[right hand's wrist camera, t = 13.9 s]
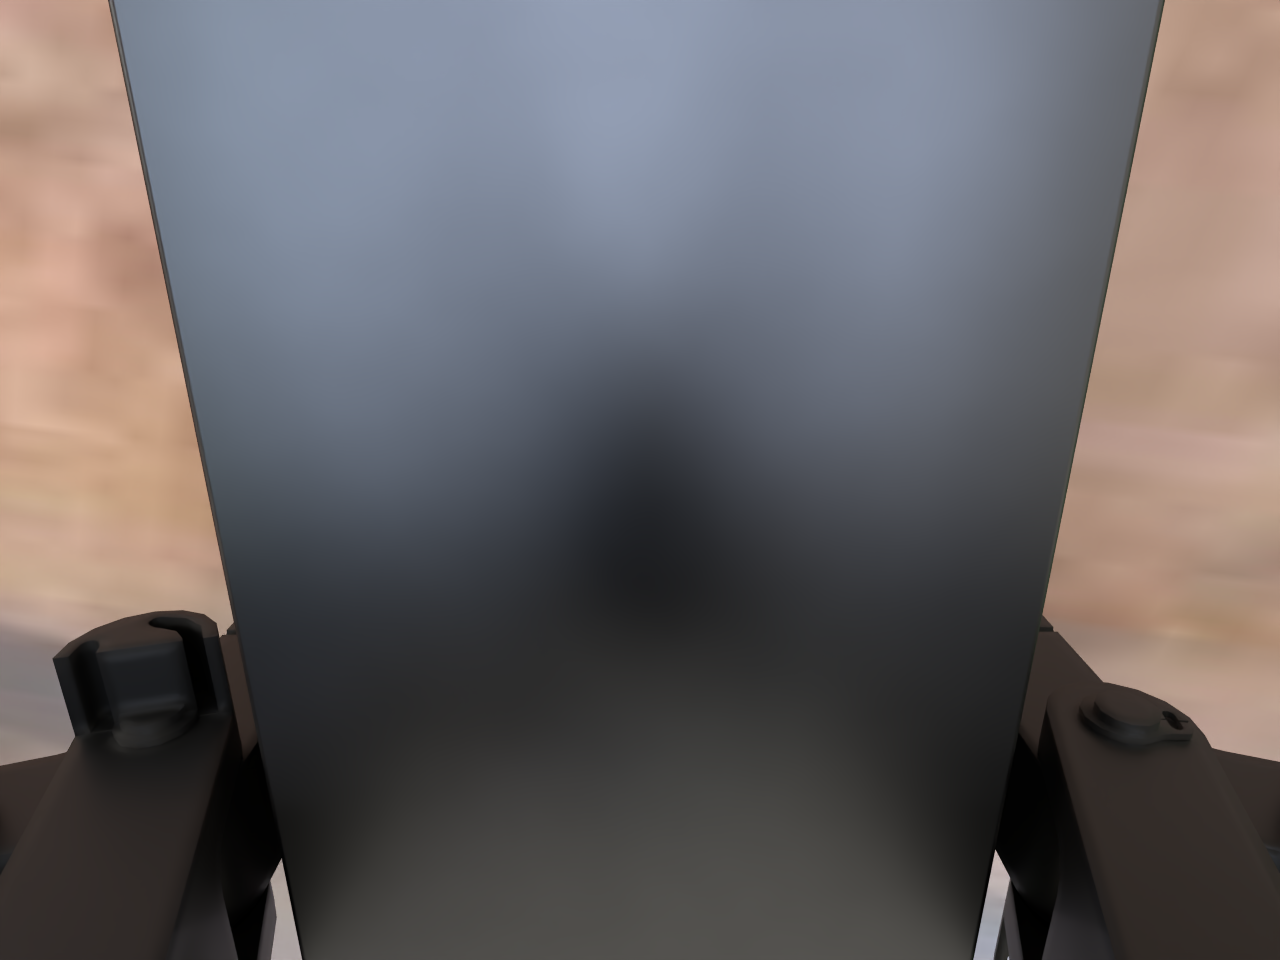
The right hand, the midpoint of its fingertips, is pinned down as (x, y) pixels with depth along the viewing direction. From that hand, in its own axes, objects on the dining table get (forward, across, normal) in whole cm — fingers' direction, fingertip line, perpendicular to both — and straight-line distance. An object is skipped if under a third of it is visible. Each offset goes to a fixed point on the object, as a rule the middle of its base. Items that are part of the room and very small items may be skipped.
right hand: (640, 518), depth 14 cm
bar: (+1, 0, -9) cm, 9 cm away
